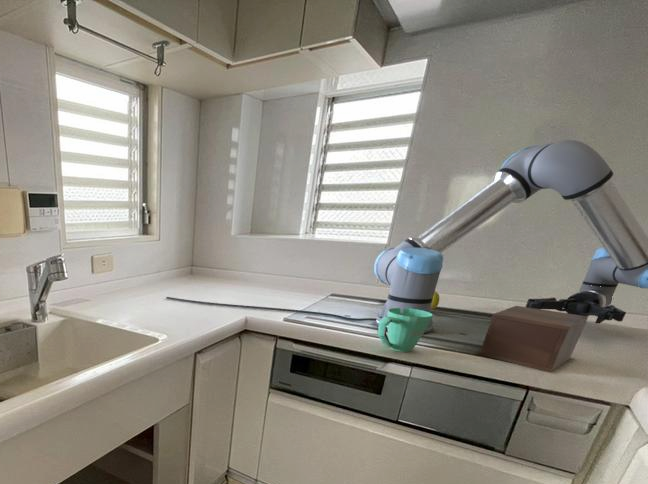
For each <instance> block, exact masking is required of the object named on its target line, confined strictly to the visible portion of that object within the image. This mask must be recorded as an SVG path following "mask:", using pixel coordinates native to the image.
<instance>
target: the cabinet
mask: <svg viewBox="0 0 648 484" xmlns="http://www.w3.org/2000/svg"><path fill="white" fill-rule="evenodd" d="M588 318H589V316H581V315H575V314H568V313H567V312H562V311H556V310H555V311H554V310H549V309H534V308H528V307H526V306H520V305H513V306H511V307H508V308H506V309H503V310H500V311H496V312H495V313H494V312H493V313H492V317H491V319H490V322H489V326H488V328H487V331H486V334H485V337H484V339H483V343H482V345H481V349H480V352H479V354H478V355H479V356H482V357H486V358H489V359H494V360H498V361H503V362H508V363H510V364H515V365H519V366H524V367H528V368H533V369H536V370H540V371H545V372H552V371H554V370H555V369H557V368H559V367H560V366H561V365H563V364H564V363H566V362H567V361H569V360H570V359H571V357H572V355H573V353H574V350H575V348H576V346H577V345H578V341H579V339H580V337H581V334H582V333H583V330H584V328H585V325H586V323H587V321H588Z"/></svg>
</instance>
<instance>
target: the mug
mask: <svg viewBox="0 0 648 484" xmlns="http://www.w3.org/2000/svg"><path fill="white" fill-rule="evenodd" d="M432 316H433V317H434V314H433V315H432V314H431V313H429V312H426V311H423V310H417V309H410V308H405V309H404V310H403V312H402V313H401V312H400V308H392V309H389V310H388V317H384V318H382V319H381V321H380V322H379V325H378V326H377V331H376V333H377V335H378V337H379V339H380V341H381V343H382V344H383V345H385V346H387V347H389V348H390V349H391V350H393V351H395V352H400V353H410V352H412V351H413V349H414V348H415V347H416V345H417V344H418V343H419V341H420V339H421V338H422V337H423V335H424V334H425V333H424V332H425V330H426V328H427V326H428V324H429V322H430V321H431V319H432V320H433V318H432ZM387 325H388V330H387Z"/></svg>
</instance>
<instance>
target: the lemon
mask: <svg viewBox="0 0 648 484" xmlns="http://www.w3.org/2000/svg"><path fill="white" fill-rule="evenodd" d="M439 303H440V293H439V292H437V291H436V290H435V292H434V296H433V299H432V303H431V311H432V310H435V309H436V308H438V306H439Z"/></svg>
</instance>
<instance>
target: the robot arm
mask: <svg viewBox="0 0 648 484" xmlns="http://www.w3.org/2000/svg"><path fill="white" fill-rule="evenodd" d="M613 178H614V172H613V171H612V169H611V167H610V166H609V164H608V163H607V161H606V160H605V159H604V158H603V156H601V154H599V152H597V150H596V149H594V148H593V147H591V146H590V145H589V144H587V143H584V142H582V141H578V140H575V139H574V140H573V139H566V140H560V141H556V142H551V143H544V144H536V145H531V146H527V147H525V148H523V149H520V150H518V151H517V152H514V153H513V154H512V155H510V156H509V157H508V158H507V159H506V160H505V161H504V162H503V164H502V165H501V167H500V169H499V170H497V171H496V172H495V173H494V174H493V176H492V179H491V182H490V183H488V184H487V185H486V186H484V187H483V188H482V189H480V190H479V191H478V192H476V193H475V194H474V195H473V196H471V197H469V198H468V199H467V200H465V201H464V202H463V203H461V204H460V205H459V206H457V207H456V208H455V209H453V210H452V211H450V212H449V213H447V215H445V216H444V217H442V218H441V219H440V220H439V221H437V222H436V223H434V224H433V225H431V226H430V227H429V228H428V229H426V230H425V231H424V232H422V233H421V234H420V235H418V236H417V237H408V238H406V239H405V240H403V241H402V242H400V243H399V244H398V245H397V246H395V247H390V248H388V249H385V250H383V251H382V252H381V253H380V254H378V256H377V258H376V259H375V262H374V265H373V273H374V275H375V277H376V278H377V279H378V280H379V281H380V282H381V283H382V284H384V285H387V286H389V291H388V295H387V298H386V302H385V303H384V305H383V306H382V308H381V310H380V311H379V313H378V314H377V317H375V318H374V317H373V318H371V317H366V318H365V317H361V318H359V317H357V318H356V317H347V316H344V315H339V314H333V313H327V312H319V311H311V310H309V311H308V310H300V309H290V308H282V307H281V308H280V307H267V306H255V305H243V304H233V303H231V304H230V303H219V302H211V301H200V300H194V299H193V300H191V299H185V298H177V297H171V296H166V298H165V299H166V300H172V301H173V300H174V301H179V302H186V303H194V304H203V305H211V306H221V307H233V308H245V309H256V310H270V311H278V312H279V311H280V312H291V313H299V314H300V313H301V314H309V315H310V314H311V315H319V316H327V317H334V318H339V319H342V320H347V321H353V322H354V321H355V322H363V321H364V322H365V321H367V322H368V321H369V322H372V321H373V322H375V325H376V327H378V325H379V322H380V321H381V319H382V318H384V317H388V310H389V309H392V308H400V312H401V313H402V312H403V310H404V309H405V308H410V309H417V310H423V311H426V312H429V313H431V314H432V315H433V316H432V319H431V321H430V322H429V324H428V326H427V328H426V330H425V332H424V333H423V334H427V333H430V332H432V329H433V323H434V322H433V321H434V320H433V319H434V313H433V311H432V310H431V303H432V299H433V296H434V292H435V291H436V288H437V286H438V281H439V278H440V274H441V270H442V268H443V263H444V255H443V252H445V251H447V250H448V249H449V248H450V247H452V246H453V245H455V244H456V243H458V242H459V241H460V240H461V239H463V238H464V237H466V236H467V235H469V234H470V233H472V232H473V231H474V230H476V229H477V228H479V227H480V226H482V225H483V224H484V223H486V222H487V221H488V220H490V219H492V218H493V217H494V216H496V215H497V214H498V213H500V212H501V211H503V210H504V209H506V208H507V207H508V206H510V205H511V204H521V203H523V202H525V201H526V200H527V199H529V198H530V197H532V196H533V195H534V194H537V192H539V191H541V190H546V189H550V190H554V191H555V192H557V193H558V194H559V195H560V196H561V197H562V199H563V200H564V201H570V202H572V203H573V205H574V207H575V208H576V209H577V210H578V212H579V213H580V215H581V216H582V218H583V219H584V220H585V222H586V224H587V225H588V226H589V227H590V229H591V231H592V233H593V234H594V235H595V236H596V238H597V239H598V241H599V242H600V243H601V246H602V247H599V248H598V249H596V251H595V253H594V255H593V257H592V259H591V260H590V263H589V265H588V268H587V271H586V274H585V276H584V278H583V281H582V283H581V285H580V288H579V290H578V292H576V293H573V294H572V295H569V297H567V298H560V299H557V297H554V296H553V297H549V298H547V297H545V298H528V299H527V301H526V303H525V307H528V308H534V309H541V310H555V311H557V312H565V313H568V314H575V315H581V316H588V317H590V316H592V317H593V316H594V317H597V318H596V320H595V322H594V323H595V324H598V325H599V324H601V323H602V322H604V321H613V320H614V321H617V322H623V320H624V318H625V316H626V314H627V311H625V310H622V309H620V308H618V307H616V305H613V304H612V302H613V301H612V296H613V294H615V292H616V289H617V287H618V285H619V284H621V285H626V286H631V287H636V288H640V289H648V235H647V233H645V230H644V229H643V228H642V226H641V225H640V223H639V222H638V220H637V219H636V217H635V215H634V214H633V213H632V211H631V209H630V208H629V206H628V204H627V203H626V202H625V200H624V198H623V196H621V194H620V192H619V191H618V189H617V188H616V186H615V185H614V183H613V181H612V179H613ZM591 285H592V286H591ZM600 286H601V287H600ZM611 301H612V302H611ZM386 331H388V325H387V330H386Z"/></svg>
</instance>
